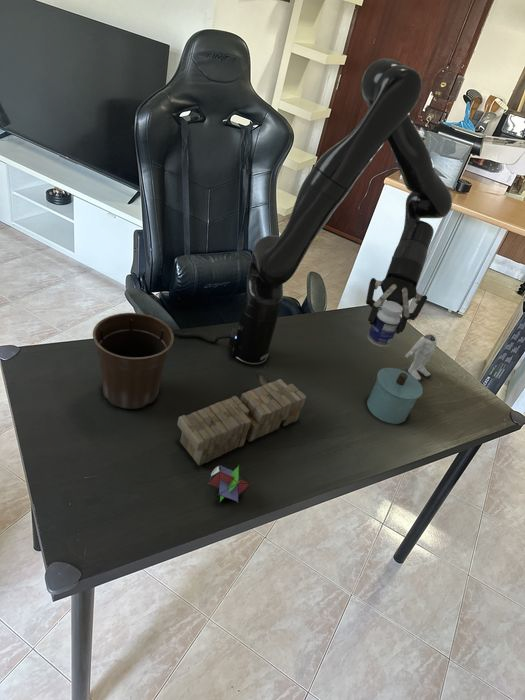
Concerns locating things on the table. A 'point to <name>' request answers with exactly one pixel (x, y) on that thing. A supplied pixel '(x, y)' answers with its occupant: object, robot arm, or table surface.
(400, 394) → the pot
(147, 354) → the plant pot
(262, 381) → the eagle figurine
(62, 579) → the table surface
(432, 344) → the toy creature
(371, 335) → the pill bottle
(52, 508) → the table surface
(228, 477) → the geometric puzzle
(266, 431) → the block tower
